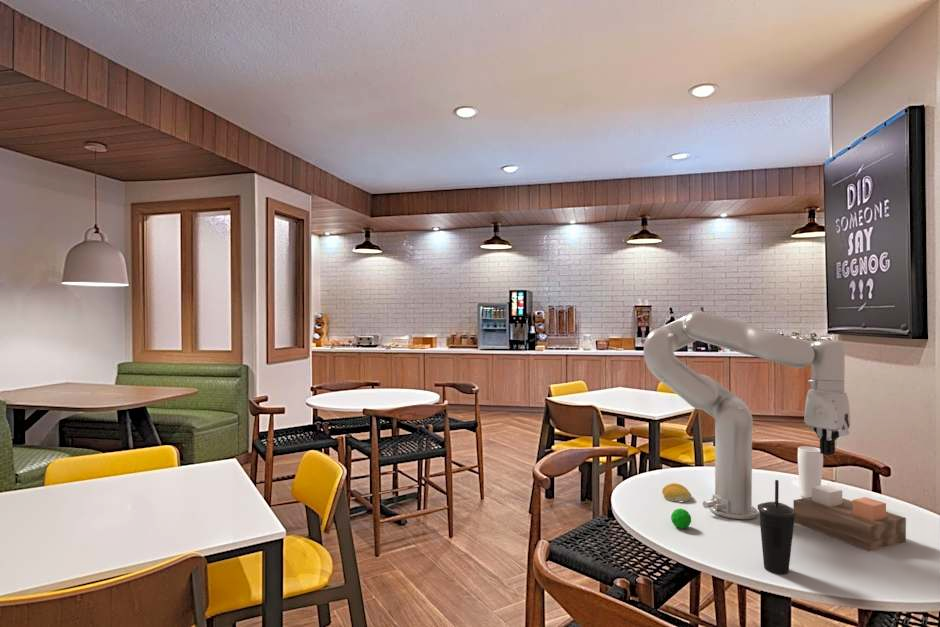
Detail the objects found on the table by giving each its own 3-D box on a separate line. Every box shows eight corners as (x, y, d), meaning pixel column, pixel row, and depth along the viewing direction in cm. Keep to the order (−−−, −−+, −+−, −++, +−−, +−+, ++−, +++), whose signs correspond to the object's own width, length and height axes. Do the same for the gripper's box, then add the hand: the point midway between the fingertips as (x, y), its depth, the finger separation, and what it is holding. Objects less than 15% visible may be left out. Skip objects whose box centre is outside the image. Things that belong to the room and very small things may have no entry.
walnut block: (869, 551, 136) (869, 526, 136) (793, 521, 154) (793, 500, 154) (905, 541, 141) (905, 517, 141) (828, 514, 160) (828, 493, 160)
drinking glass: (827, 501, 171) (828, 451, 171) (805, 501, 171) (805, 451, 171) (814, 493, 178) (814, 446, 177) (792, 493, 178) (793, 446, 178)
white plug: (829, 507, 150) (829, 492, 150) (811, 501, 154) (811, 487, 154) (842, 505, 151) (842, 490, 151) (824, 499, 156) (824, 484, 156)
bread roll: (665, 502, 170) (665, 489, 170) (660, 492, 179) (660, 480, 179) (694, 504, 169) (694, 490, 169) (688, 494, 178) (688, 481, 178)
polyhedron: (674, 522, 154) (674, 505, 154) (693, 526, 151) (693, 508, 151) (668, 528, 150) (668, 510, 150) (688, 532, 147) (688, 514, 147)
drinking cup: (804, 574, 124) (804, 483, 124) (776, 579, 122) (776, 487, 122) (776, 559, 131) (776, 474, 131) (749, 564, 129) (749, 476, 129)
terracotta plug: (873, 522, 139) (873, 506, 139) (852, 515, 144) (852, 499, 144) (886, 519, 141) (886, 503, 141) (865, 512, 146) (865, 497, 146)
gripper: (792, 383, 158) (792, 448, 158) (846, 390, 144) (845, 462, 144) (811, 381, 161) (810, 446, 161) (865, 388, 147) (865, 459, 147)
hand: (827, 453), depth 153 cm, fingers closed
